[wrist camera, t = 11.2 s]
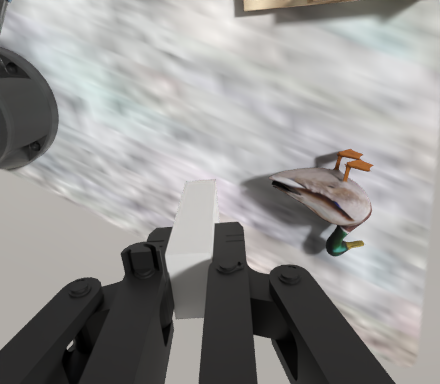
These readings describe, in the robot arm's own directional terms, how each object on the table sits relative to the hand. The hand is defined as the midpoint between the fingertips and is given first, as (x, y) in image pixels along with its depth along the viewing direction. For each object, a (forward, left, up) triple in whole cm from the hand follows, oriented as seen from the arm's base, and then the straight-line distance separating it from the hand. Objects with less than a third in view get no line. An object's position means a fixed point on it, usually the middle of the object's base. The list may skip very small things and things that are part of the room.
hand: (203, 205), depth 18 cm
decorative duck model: (+13, -14, -30) cm, 35 cm away
